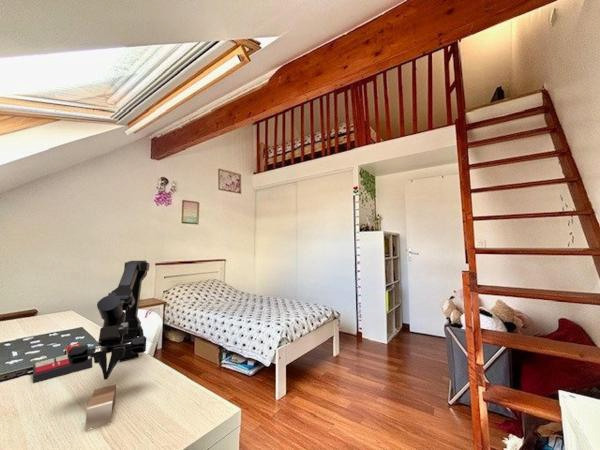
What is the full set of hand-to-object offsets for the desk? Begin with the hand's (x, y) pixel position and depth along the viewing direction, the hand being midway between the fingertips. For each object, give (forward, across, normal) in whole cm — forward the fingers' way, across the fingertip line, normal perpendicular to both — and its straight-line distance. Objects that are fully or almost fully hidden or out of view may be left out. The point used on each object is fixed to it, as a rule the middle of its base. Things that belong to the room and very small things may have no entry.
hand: (105, 379), depth 71 cm
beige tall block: (+3, 0, +4) cm, 5 cm away
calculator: (-18, -16, +30) cm, 38 cm away
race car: (-28, -16, +39) cm, 51 cm away
